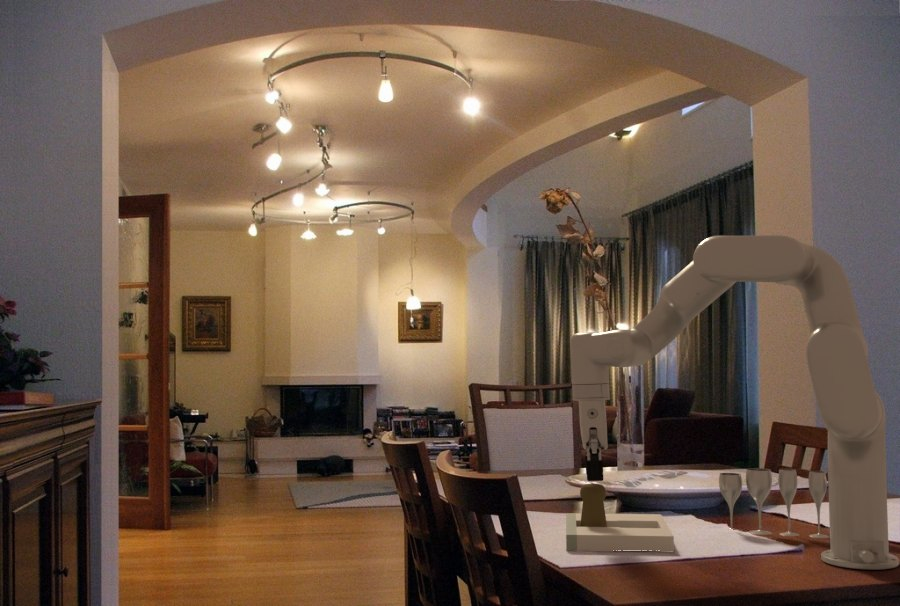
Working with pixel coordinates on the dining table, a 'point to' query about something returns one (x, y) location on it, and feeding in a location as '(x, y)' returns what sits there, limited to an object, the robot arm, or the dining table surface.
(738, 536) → the dining table surface
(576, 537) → the beige flat rimmed tray
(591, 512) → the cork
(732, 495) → the goblet set
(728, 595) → the dining table surface
